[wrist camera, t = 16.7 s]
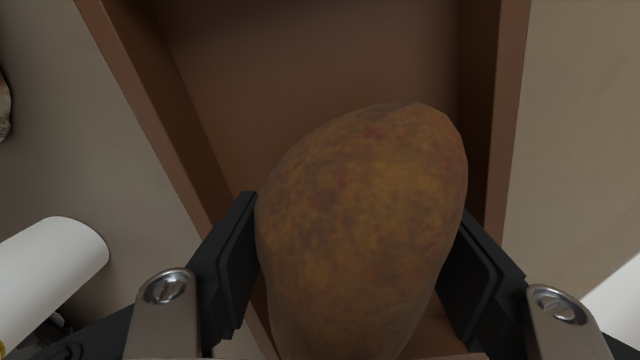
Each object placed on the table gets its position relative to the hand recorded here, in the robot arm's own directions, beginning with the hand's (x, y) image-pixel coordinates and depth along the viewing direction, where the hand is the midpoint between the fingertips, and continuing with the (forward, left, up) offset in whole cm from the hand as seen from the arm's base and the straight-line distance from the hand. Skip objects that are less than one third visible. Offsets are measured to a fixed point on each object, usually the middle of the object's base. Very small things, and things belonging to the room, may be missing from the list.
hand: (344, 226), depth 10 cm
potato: (+1, +2, +3) cm, 4 cm away
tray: (0, 0, -3) cm, 3 cm away
